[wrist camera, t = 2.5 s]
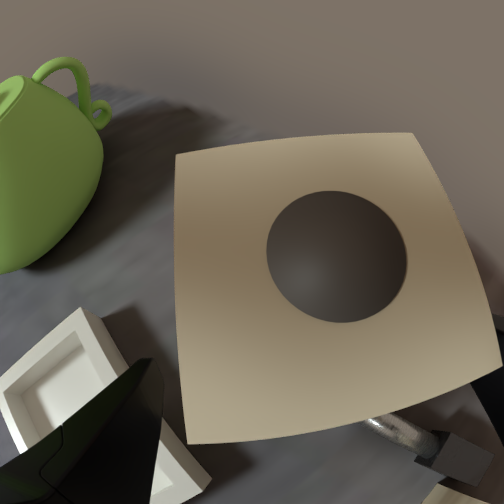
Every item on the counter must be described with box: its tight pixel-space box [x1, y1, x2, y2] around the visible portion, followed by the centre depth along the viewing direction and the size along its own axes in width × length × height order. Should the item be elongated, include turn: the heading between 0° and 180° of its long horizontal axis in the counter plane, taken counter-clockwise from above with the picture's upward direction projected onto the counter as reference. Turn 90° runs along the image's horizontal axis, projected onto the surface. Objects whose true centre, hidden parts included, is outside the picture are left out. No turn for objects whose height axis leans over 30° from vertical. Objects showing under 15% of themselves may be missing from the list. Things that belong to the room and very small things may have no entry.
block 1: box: [174, 133, 503, 444], centre depth 10 cm, size 5×5×13 cm
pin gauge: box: [357, 412, 495, 487], centre depth 12 cm, size 10×2×2 cm, turn 54°
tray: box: [0, 307, 212, 504], centre depth 13 cm, size 12×10×2 cm
